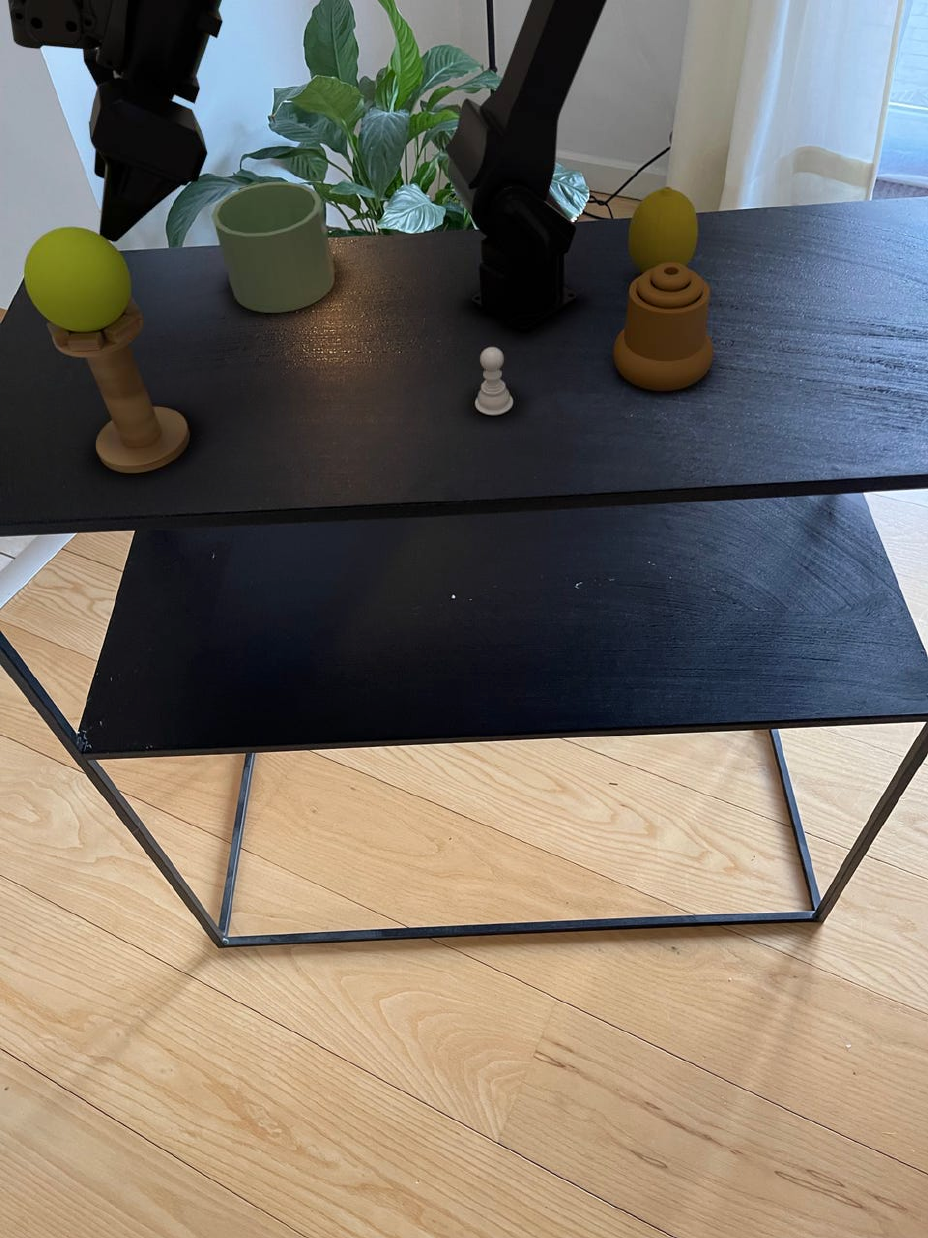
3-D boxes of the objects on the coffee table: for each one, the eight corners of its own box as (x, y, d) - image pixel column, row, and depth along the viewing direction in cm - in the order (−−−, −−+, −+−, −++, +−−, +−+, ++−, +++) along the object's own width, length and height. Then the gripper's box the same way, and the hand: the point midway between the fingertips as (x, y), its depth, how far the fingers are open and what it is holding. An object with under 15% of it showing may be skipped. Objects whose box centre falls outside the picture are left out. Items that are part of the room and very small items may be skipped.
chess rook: (111, 416, 76) (56, 290, 67) (197, 412, 75) (153, 284, 67) (89, 475, 71) (28, 348, 63) (180, 471, 71) (131, 342, 63)
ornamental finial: (594, 376, 75) (642, 327, 78) (682, 408, 72) (728, 355, 75) (598, 282, 69) (649, 233, 72) (694, 311, 65) (744, 259, 69)
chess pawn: (512, 392, 74) (510, 335, 70) (513, 415, 72) (511, 358, 69) (475, 393, 74) (471, 337, 71) (475, 417, 73) (471, 360, 69)
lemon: (690, 300, 80) (701, 206, 74) (622, 296, 81) (628, 204, 75) (694, 264, 84) (705, 171, 78) (628, 261, 85) (634, 169, 79)
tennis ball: (62, 299, 68) (24, 210, 63) (153, 294, 67) (121, 204, 62) (35, 354, 63) (-8, 264, 59) (132, 349, 63) (97, 257, 58)
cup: (244, 258, 89) (224, 183, 84) (340, 255, 89) (327, 179, 83) (223, 314, 84) (201, 237, 78) (327, 311, 83) (311, 233, 78)
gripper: (33, -147, 60) (-20, 101, 68) (32, -59, 48) (-32, 227, 57) (210, -52, 66) (140, 165, 74) (248, 47, 54) (160, 291, 63)
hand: (104, 206), depth 67 cm, fingers open, 9 cm apart
